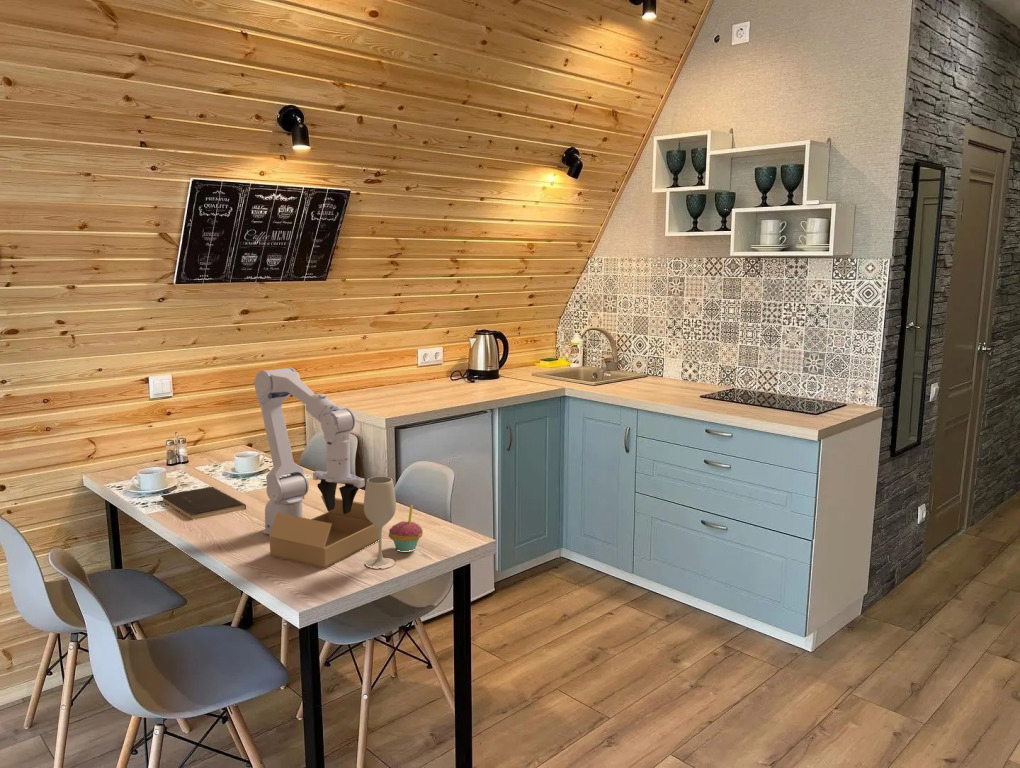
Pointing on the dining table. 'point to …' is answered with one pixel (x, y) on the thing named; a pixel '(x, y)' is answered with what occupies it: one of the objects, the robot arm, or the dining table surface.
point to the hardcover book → (203, 502)
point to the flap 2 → (356, 509)
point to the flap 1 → (300, 530)
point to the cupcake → (405, 534)
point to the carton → (329, 542)
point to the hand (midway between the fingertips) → (338, 511)
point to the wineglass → (379, 509)
